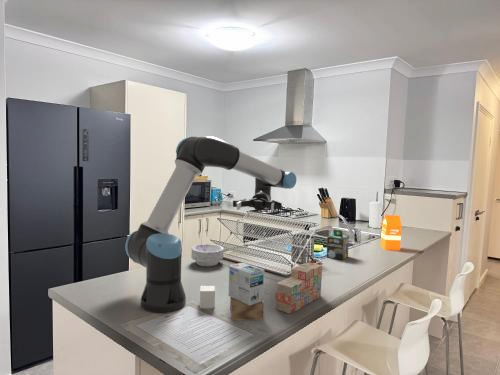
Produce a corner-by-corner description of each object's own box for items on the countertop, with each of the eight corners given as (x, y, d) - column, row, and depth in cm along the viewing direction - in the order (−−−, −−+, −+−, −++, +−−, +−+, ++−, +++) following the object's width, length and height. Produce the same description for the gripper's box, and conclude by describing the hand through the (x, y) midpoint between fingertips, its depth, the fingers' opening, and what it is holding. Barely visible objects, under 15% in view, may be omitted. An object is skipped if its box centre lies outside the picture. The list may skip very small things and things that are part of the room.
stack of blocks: (290, 314, 119) (292, 278, 118) (274, 309, 123) (276, 274, 122) (320, 296, 136) (322, 264, 135) (306, 292, 139) (307, 261, 138)
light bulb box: (264, 301, 117) (265, 268, 116) (249, 306, 113) (250, 272, 112) (242, 291, 125) (243, 261, 124) (227, 296, 120) (228, 264, 120)
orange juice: (400, 250, 211) (402, 216, 209) (385, 249, 211) (387, 216, 209) (394, 246, 218) (397, 214, 217) (380, 246, 219) (382, 214, 217)
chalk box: (348, 256, 193) (349, 229, 192) (342, 260, 185) (344, 232, 184) (331, 253, 198) (333, 227, 196) (325, 257, 190) (327, 229, 189)
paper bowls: (215, 270, 162) (215, 253, 162) (185, 266, 167) (185, 249, 166) (228, 261, 177) (228, 245, 176) (200, 257, 182) (200, 242, 181)
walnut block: (231, 321, 113) (232, 305, 113) (230, 307, 123) (230, 293, 123) (263, 320, 114) (263, 305, 114) (258, 307, 124) (259, 293, 124)
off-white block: (199, 308, 121) (200, 291, 121) (200, 302, 126) (200, 285, 126) (214, 308, 122) (215, 291, 121) (214, 302, 127) (214, 285, 126)
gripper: (233, 191, 162) (223, 196, 141) (288, 194, 159) (287, 199, 138) (232, 207, 163) (223, 215, 142) (287, 210, 160) (286, 218, 139)
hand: (254, 207), depth 140 cm, fingers open, 13 cm apart
